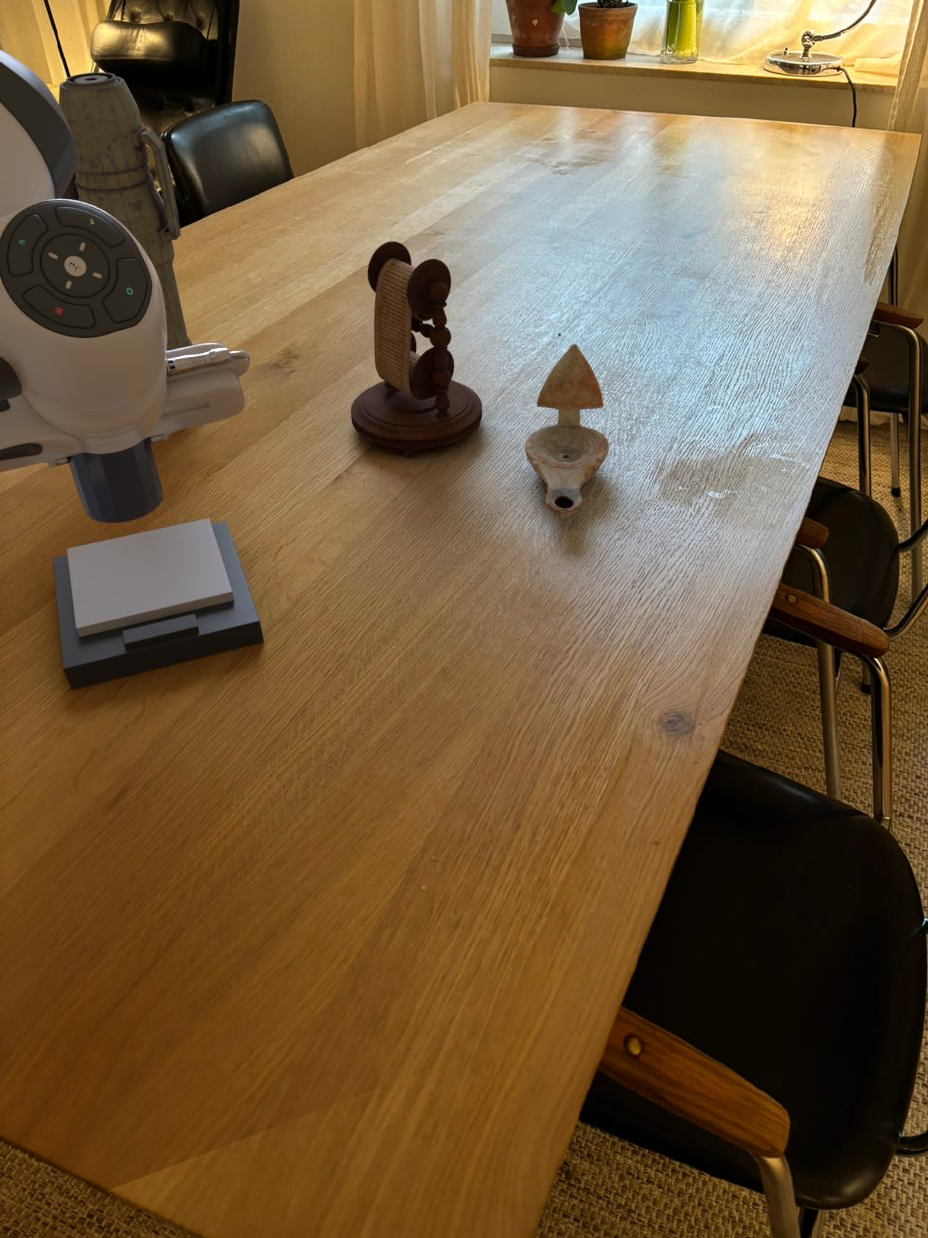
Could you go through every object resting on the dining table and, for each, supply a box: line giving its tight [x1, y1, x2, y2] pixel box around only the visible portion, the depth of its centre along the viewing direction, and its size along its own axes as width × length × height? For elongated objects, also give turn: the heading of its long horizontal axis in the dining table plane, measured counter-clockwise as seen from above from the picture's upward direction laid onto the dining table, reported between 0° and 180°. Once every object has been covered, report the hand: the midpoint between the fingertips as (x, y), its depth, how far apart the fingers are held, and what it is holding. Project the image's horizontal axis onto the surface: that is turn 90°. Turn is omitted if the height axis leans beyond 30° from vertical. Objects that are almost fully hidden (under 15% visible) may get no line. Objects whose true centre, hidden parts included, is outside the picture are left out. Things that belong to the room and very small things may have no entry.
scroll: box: [350, 240, 483, 459], centre depth 106 cm, size 15×15×20 cm
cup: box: [68, 438, 164, 524], centre depth 77 cm, size 6×6×9 cm
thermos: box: [58, 71, 194, 351], centre depth 106 cm, size 9×12×35 cm
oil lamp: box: [524, 343, 610, 519], centre depth 101 cm, size 9×21×10 cm, turn 173°
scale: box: [52, 517, 265, 691], centre depth 88 cm, size 16×16×3 cm
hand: (106, 444), depth 77 cm, fingers closed on cup, 6 cm apart
